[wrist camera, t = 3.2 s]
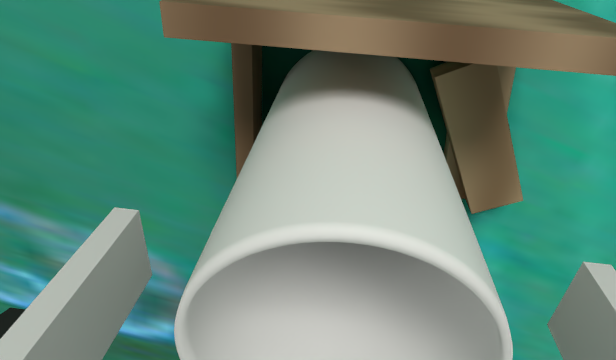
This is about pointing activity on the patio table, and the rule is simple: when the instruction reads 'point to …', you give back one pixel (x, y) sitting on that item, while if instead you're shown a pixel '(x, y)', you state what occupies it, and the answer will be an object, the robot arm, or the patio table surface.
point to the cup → (343, 234)
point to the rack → (391, 37)
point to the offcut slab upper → (478, 133)
